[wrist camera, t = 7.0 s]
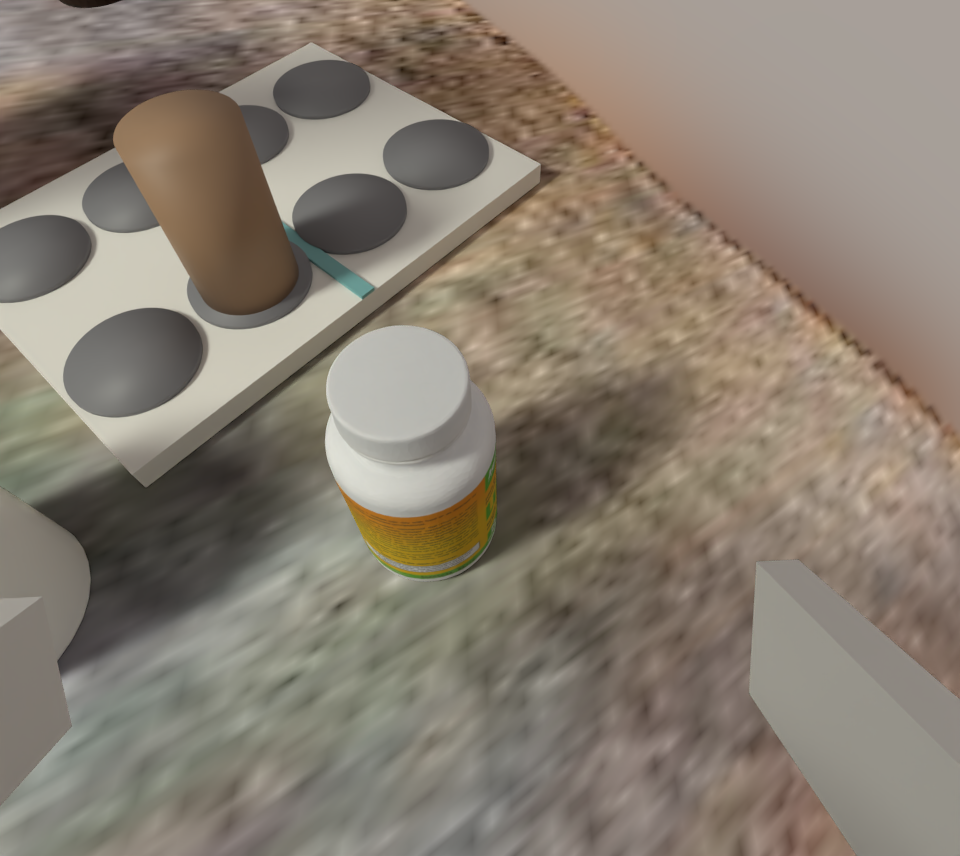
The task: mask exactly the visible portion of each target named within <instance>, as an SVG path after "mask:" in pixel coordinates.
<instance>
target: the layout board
mask: <svg viewBox="0 0 960 856" xmlns="http://www.w3.org/2000/svg"><path fill="white" fill-rule="evenodd" d="M113 142H114V146H115V148H113V149H112V150H110V151H108V152H106V153H104V154H102V155H100V156H98V157H97V158H95V159H93V160H91V161H89V162H87V163H85V164H84V165H82V166H80V167H78V168H76V169H74V170H72V171H70V172H69V173H67V174H65V175H63V176H61V177H59V178H57V179H56V180H54V181H52V182H50V183H48V184H46V185H44V186H42V187H41V188H39V189H37V190H35V191H33V192H31V193H29V194H27V195H26V196H24V197H22V198H20V199H18V200H16V201H14V202H13V203H11V204H9V205H7V206H5V207H3V208H1V209H0V329H1V331H2V332H3V333H4V334H5V335H6V336H7V337H8V338H9V339H10V340H11V342H12V343H13V344H14V345H15V346H16V347H17V348H18V349H19V350H20V352H21V353H22V354H23V355H24V356H25V357H26V358H27V359H28V360H29V362H30V363H31V364H32V365H33V366H34V367H35V368H36V369H37V370H38V371H39V373H40V374H41V375H42V376H43V377H44V378H45V379H46V380H47V381H48V383H49V384H50V385H51V386H52V387H53V388H54V389H55V390H56V391H57V393H58V394H59V395H60V396H61V397H62V398H63V399H64V400H65V401H66V402H67V404H68V405H69V406H70V407H71V408H72V409H73V410H74V411H75V412H76V414H77V415H78V416H79V417H80V418H81V419H82V420H83V421H84V422H85V424H86V425H87V426H88V427H89V428H90V429H91V430H92V431H93V432H94V433H95V435H96V436H97V437H98V438H99V439H100V440H101V441H102V442H103V443H104V445H105V446H106V447H107V448H108V449H109V450H110V451H111V452H112V453H113V455H114V456H115V457H116V458H117V459H118V460H119V461H120V462H121V463H122V464H123V466H124V467H125V468H126V469H127V470H128V471H129V472H130V473H131V474H132V475H133V476H134V477H135V478H136V479H137V480H138V481H139V482H140V483H141V484H142V485H143V486H145V487H148V486H149V485H150V484H152V483H153V482H154V481H155V480H157V479H158V478H159V477H161V476H162V475H163V474H165V473H166V472H167V471H168V470H170V469H171V468H172V467H174V466H175V465H176V464H177V463H179V462H180V461H181V460H183V459H184V458H185V457H186V456H188V455H189V454H190V453H192V452H193V451H194V450H195V449H197V448H198V447H199V446H201V445H202V444H203V443H204V442H206V441H207V440H208V439H210V438H211V437H212V436H214V435H215V434H216V433H217V432H219V431H220V430H221V429H223V428H224V427H225V426H226V425H228V424H229V423H230V422H232V421H233V420H234V419H235V418H237V417H238V416H239V415H241V414H242V413H243V412H244V411H246V410H247V409H248V408H250V407H251V406H252V405H253V404H255V403H256V402H257V401H259V400H260V399H261V398H263V397H264V396H265V395H266V394H268V393H269V392H270V391H272V390H273V389H274V388H275V387H277V386H278V385H279V384H281V383H282V382H283V381H284V380H286V379H287V378H288V377H290V376H291V375H292V374H293V373H295V372H296V371H297V370H299V369H300V368H301V367H302V366H304V365H305V364H306V363H308V362H309V361H310V360H312V359H313V358H314V357H315V356H317V355H318V354H319V353H321V352H322V351H323V350H324V349H326V348H327V347H328V346H330V345H331V344H332V343H333V342H335V341H336V340H337V339H339V338H340V337H341V336H342V335H344V334H345V333H346V332H348V331H349V330H350V329H351V328H353V327H354V326H355V325H357V324H358V323H359V322H361V321H362V320H363V319H364V318H366V317H367V316H368V315H370V314H371V313H372V312H373V311H375V310H376V309H377V308H379V307H380V306H381V305H382V304H384V303H385V302H386V301H388V300H389V299H390V298H391V297H393V296H394V295H395V294H397V293H398V292H399V291H400V290H402V289H403V288H404V287H406V286H407V285H408V284H410V283H411V282H412V281H413V280H415V279H416V278H417V277H419V276H420V275H421V274H422V273H424V272H425V271H426V270H428V269H429V268H430V267H431V266H433V265H434V264H435V263H437V262H438V261H439V260H440V259H442V258H443V257H444V256H446V255H447V254H448V253H449V252H451V251H452V250H453V249H455V248H456V247H457V246H459V245H460V244H461V243H462V242H464V241H465V240H466V239H468V238H469V237H470V236H471V235H473V234H474V233H475V232H477V231H478V230H479V229H480V228H482V227H483V226H484V225H486V224H487V223H488V222H489V221H491V220H492V219H493V218H495V217H496V216H497V215H498V214H500V213H501V212H502V211H504V210H505V209H506V208H508V207H509V206H510V205H511V204H513V203H514V202H515V201H517V200H518V199H519V198H520V197H522V196H523V195H524V194H526V193H527V192H528V191H529V190H531V189H532V188H533V187H535V186H536V185H537V184H538V183H540V171H541V164H540V163H538V162H536V161H534V160H532V159H530V158H528V157H526V156H525V155H523V154H521V153H519V152H517V151H515V150H513V149H511V148H510V147H508V146H506V145H504V144H502V143H500V142H498V141H496V140H494V139H493V138H491V137H489V136H487V135H485V134H483V133H481V132H479V131H478V130H477V129H475V128H474V127H472V126H470V125H468V124H465V123H462V122H461V121H459V120H457V119H455V118H453V117H451V116H449V115H447V114H445V113H444V112H442V111H440V110H438V109H436V108H434V107H432V106H430V105H429V104H427V103H425V102H423V101H421V100H419V99H417V98H415V97H413V96H412V95H410V94H408V93H406V92H404V91H402V90H400V89H398V88H396V87H395V86H393V85H391V84H389V83H387V82H385V81H383V80H381V79H380V78H378V77H376V76H374V75H372V74H370V73H368V72H366V71H364V70H363V69H362V68H360V67H359V66H357V65H355V64H352V63H349V62H347V61H346V60H344V59H342V58H340V57H338V56H336V55H334V54H332V53H331V52H329V51H327V50H325V49H323V48H321V47H319V46H317V45H315V44H314V43H312V42H311V43H310V44H308V45H306V46H304V47H302V48H300V49H298V50H297V51H295V52H293V53H291V54H289V55H287V56H285V57H283V58H282V59H280V60H278V61H276V62H274V63H272V64H270V65H269V66H267V67H265V68H263V69H261V70H259V71H257V72H255V73H254V74H252V75H250V76H248V77H246V78H244V79H242V80H240V81H239V82H237V83H235V84H233V85H231V86H229V87H227V88H226V89H224V90H222V91H220V92H215V91H209V90H198V89H197V90H181V91H175V92H171V93H166V94H163V95H160V96H157V97H154V98H152V99H149V100H147V101H145V102H143V103H141V104H140V105H138V106H136V107H135V108H133V109H132V110H131V111H129V112H128V113H127V114H126V115H125V116H124V117H123V118H122V119H121V120H120V122H119V123H118V125H117V126H116V128H115V131H114V134H113Z"/></svg>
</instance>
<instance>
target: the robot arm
mask: <svg viewBox="0 0 960 856" xmlns="http://www.w3.org/2000/svg"><path fill="white" fill-rule="evenodd" d="M749 694H750V695H751V697H752V698H753V700H754V701H755V703H756V705H757V706H758V708H759V709H760V711H761V712H762V714H763V715H764V717H765V718H766V720H767V721H768V723H769V724H770V726H771V727H772V729H773V730H774V732H775V733H776V735H777V736H778V738H779V739H780V741H781V742H782V744H783V745H784V747H785V748H786V750H787V751H788V753H789V754H790V756H791V757H792V759H793V760H794V762H795V763H796V765H797V766H798V768H799V769H800V771H801V772H802V774H803V775H804V777H805V778H806V780H807V781H808V783H809V784H810V786H811V787H812V789H813V790H814V792H815V793H816V795H817V797H818V798H819V800H820V801H821V803H822V804H823V806H824V807H825V809H826V810H827V812H828V813H829V815H830V816H831V818H832V819H833V821H834V822H835V824H836V825H837V827H838V828H839V830H840V831H841V833H842V834H843V836H844V837H845V839H846V840H847V842H848V843H849V845H850V846H851V848H852V849H853V851H854V852H855V854H856V855H857V856H960V699H959V698H958V697H956V696H955V695H954V694H953V693H952V692H951V691H949V690H948V689H947V688H946V687H945V686H944V685H943V684H941V683H940V682H939V681H938V680H937V679H936V678H934V677H933V676H932V675H931V674H930V673H929V672H928V671H926V670H925V669H924V668H923V667H922V666H921V665H919V664H918V663H917V662H916V661H915V660H914V659H913V658H911V657H910V656H909V655H908V654H907V653H906V652H904V651H903V650H902V649H901V648H900V647H899V646H898V645H896V644H895V643H894V642H893V641H892V640H891V639H889V638H888V637H887V636H886V635H885V634H884V633H882V632H881V631H880V630H879V629H878V628H877V627H876V626H874V625H873V624H872V623H871V622H870V621H869V620H867V619H866V618H865V617H864V616H863V615H862V614H861V613H859V612H858V611H857V610H856V609H855V608H854V607H852V606H851V605H850V604H849V603H848V602H847V601H846V600H844V599H843V598H842V597H841V596H840V595H839V594H837V593H836V592H835V591H834V590H833V589H832V588H831V587H829V586H828V585H827V584H826V583H825V582H824V581H822V580H821V579H820V578H819V577H818V576H817V575H816V574H814V573H813V572H812V571H811V570H810V569H809V568H807V567H806V566H805V565H804V564H803V563H802V562H801V561H799V560H798V559H797V560H776V561H756V577H755V595H754V613H753V630H752V648H751V666H750V684H749ZM71 727H72V724H71V720H70V716H69V711H68V707H67V702H66V698H65V694H64V689H63V685H62V681H61V676H60V672H59V668H58V663H57V659H56V654H55V650H54V646H53V641H52V637H51V633H50V628H49V624H48V619H47V615H46V611H45V606H44V602H43V598H42V597H24V598H3V599H0V806H1V804H2V803H3V802H4V801H5V800H6V799H7V798H8V797H9V796H10V794H11V793H12V792H13V791H14V790H15V789H16V788H17V787H18V786H19V784H20V783H21V782H22V781H23V780H24V779H25V778H26V777H27V775H28V774H29V773H30V772H31V771H32V770H33V769H34V768H35V767H36V765H37V764H38V763H39V762H40V761H41V760H42V759H43V758H44V757H45V755H46V754H47V753H48V752H49V751H50V750H51V749H52V748H53V747H54V745H55V744H56V743H57V742H58V741H59V740H60V739H61V738H62V737H63V735H64V734H65V733H66V732H67V731H68V730H69V729H70V728H71Z"/></svg>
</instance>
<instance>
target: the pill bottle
mask: <svg viewBox="0 0 960 856" xmlns="http://www.w3.org/2000/svg"><path fill="white" fill-rule="evenodd" d="M90 584H91V576H90V568H89V562H88V559H87V556H86V554H85V551H84V549H83V547H82V546H81V544H80V543H79V542H78V540H77V539H76V538H75V536H74V535H73V534H71V533H70V532H69V531H67V530H66V529H65V528H63V527H62V526H61V525H59V524H58V523H56V522H55V521H53V520H52V519H50V518H49V517H47V516H46V515H44V514H43V513H41V512H39V511H38V510H36V509H35V508H33V507H32V506H30V505H29V504H27V503H26V502H24V501H23V500H21V499H20V498H18V497H17V496H15V495H14V494H12V493H11V492H9V491H7V490H6V489H4V488H3V487H1V486H0V599H3V598H24V597H42V598H43V602H44V606H45V611H46V615H47V619H48V624H49V628H50V633H51V637H52V641H53V646H54V650H55V654H56V659H57V660H58V659H59V658H60V657H61V655H62V654H63V652H64V651H65V650H66V648H67V647H68V645H69V644H70V642H71V641H72V639H73V638H74V636H75V634H76V632H77V630H78V628H79V626H80V623H81V621H82V619H83V617H84V613H85V610H86V607H87V603H88V600H89V593H90Z"/></svg>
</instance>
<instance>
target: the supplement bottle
mask: <svg viewBox="0 0 960 856" xmlns="http://www.w3.org/2000/svg"><path fill="white" fill-rule="evenodd" d="M326 396H327V402H328V405H329V408H330V411H331V414H330V417H329V420H328V423H327V427H326V435H325V449H326V455H327V459H328V462H329V466H330V468H331V471H332V473H333V476H334V478H335V480H336V482H337V485H338V487H339V489H340V491H341V493H342V495H343V497H344V498H345V501H346V503H347V505H348V507H349V509H350V511H351V513H352V515H353V517H354V519H355V521H356V523H357V525H358V527H359V530H360V532H361V534H362V536H363V538H364V540H365V542H366V544H367V546H368V548H369V549H370V551H371V552H372V554H373V555H374V557H375V558H376V559H377V560H378V561H379V562H380V563H381V564H382V565H383V566H384V567H385V568H387V569H388V570H389V571H391V572H393V573H394V574H396V575H398V576H400V577H403V578H406V579H409V580H413V581H423V582H429V581H439V580H444V579H448V578H450V577H453V576H456V575H458V574H460V573H462V572H463V571H465V570H466V569H468V568H469V567H471V566H472V565H473V564H474V563H475V562H477V561H478V560H479V559H480V557H481V556H482V555H483V554H484V552H485V551H486V550H487V548H488V546H489V544H490V542H491V540H492V538H493V535H494V532H495V527H496V520H497V491H496V431H495V423H494V418H493V414H492V411H491V408H490V406H489V403H488V401H487V400H486V398H485V396H484V395H483V393H482V392H481V391H480V389H479V388H478V387H477V386H476V385H475V384H474V383H473V382H472V381H471V380H470V375H469V370H468V367H467V363H466V361H465V359H464V357H463V355H462V353H461V352H460V350H459V349H458V348H457V347H456V346H455V345H454V344H453V343H452V342H451V341H450V340H449V339H447V338H446V337H444V336H442V335H441V334H439V333H437V332H435V331H432V330H429V329H426V328H422V327H417V326H408V325H398V326H389V327H384V328H380V329H377V330H374V331H371V332H369V333H366V334H364V335H362V336H360V337H359V338H357V339H356V340H354V341H353V342H352V343H350V344H349V345H348V346H347V347H345V348H344V349H343V350H342V351H341V353H340V354H339V355H338V356H337V358H336V359H335V361H334V362H333V364H332V366H331V368H330V371H329V374H328V377H327V383H326Z"/></svg>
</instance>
